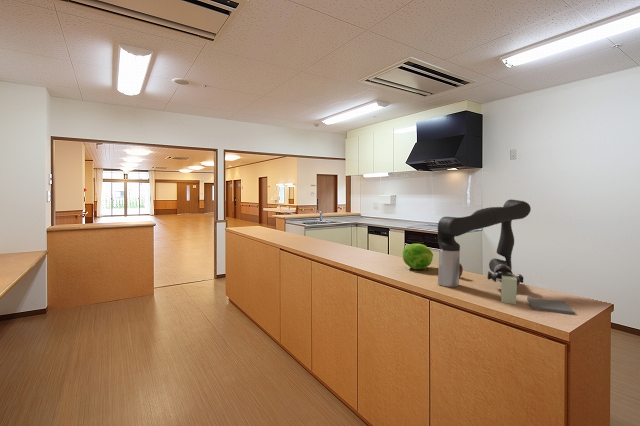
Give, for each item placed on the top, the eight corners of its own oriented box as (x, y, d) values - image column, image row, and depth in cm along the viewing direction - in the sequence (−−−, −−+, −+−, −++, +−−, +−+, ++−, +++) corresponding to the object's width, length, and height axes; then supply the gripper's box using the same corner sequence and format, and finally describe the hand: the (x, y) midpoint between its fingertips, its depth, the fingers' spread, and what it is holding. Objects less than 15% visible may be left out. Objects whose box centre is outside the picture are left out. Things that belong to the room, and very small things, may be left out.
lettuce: (438, 272, 193) (443, 247, 192) (416, 273, 182) (421, 247, 180) (415, 264, 207) (420, 241, 205) (394, 264, 195) (399, 240, 194)
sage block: (501, 302, 133) (502, 278, 133) (500, 298, 138) (501, 275, 137) (516, 304, 131) (517, 279, 130) (514, 300, 136) (515, 276, 135)
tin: (438, 272, 184) (439, 258, 183) (443, 272, 185) (443, 257, 184) (458, 279, 169) (459, 263, 169) (463, 278, 171) (464, 263, 170)
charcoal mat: (532, 309, 125) (532, 306, 125) (527, 299, 137) (527, 297, 137) (573, 314, 120) (574, 311, 120) (564, 303, 132) (564, 301, 132)
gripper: (486, 263, 161) (488, 270, 147) (520, 266, 155) (525, 274, 141) (486, 278, 162) (487, 287, 147) (519, 282, 156) (524, 291, 141)
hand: (506, 280), depth 144 cm, fingers open, 8 cm apart
